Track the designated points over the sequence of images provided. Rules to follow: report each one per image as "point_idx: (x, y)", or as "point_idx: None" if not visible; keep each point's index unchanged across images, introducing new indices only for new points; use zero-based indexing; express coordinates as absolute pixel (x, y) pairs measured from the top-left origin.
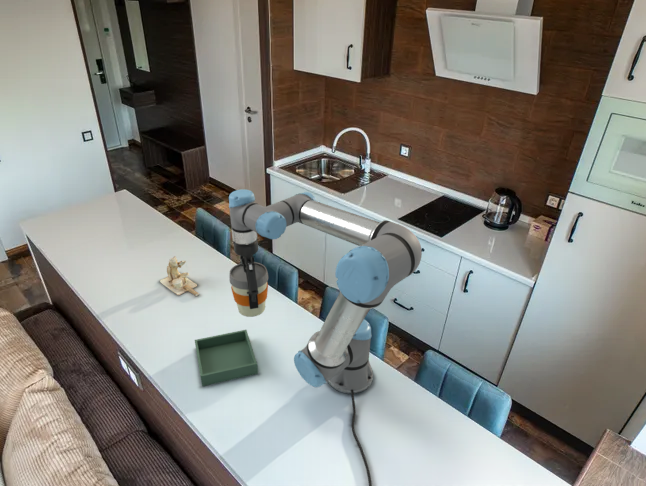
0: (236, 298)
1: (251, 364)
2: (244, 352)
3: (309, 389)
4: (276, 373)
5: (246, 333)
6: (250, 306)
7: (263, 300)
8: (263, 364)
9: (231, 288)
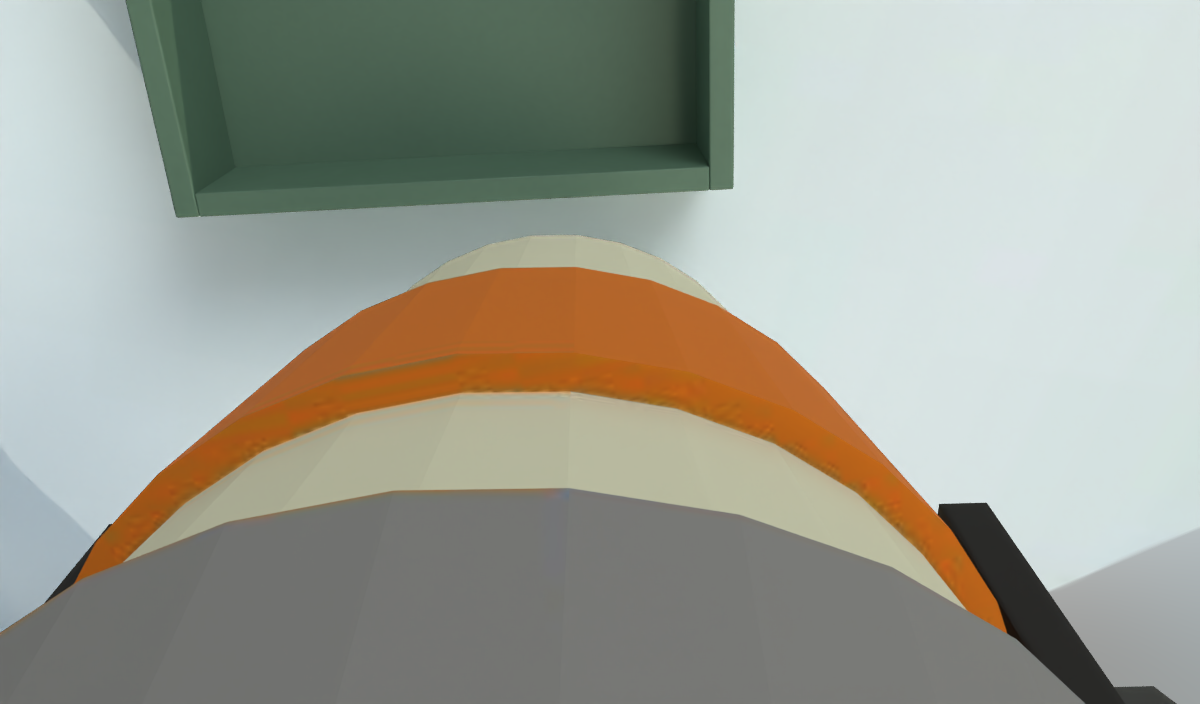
0: (291, 370)
1: (171, 162)
2: (510, 106)
3: (23, 520)
4: (213, 332)
5: (664, 181)
6: (76, 576)
7: None
8: (337, 249)
9: (541, 357)
